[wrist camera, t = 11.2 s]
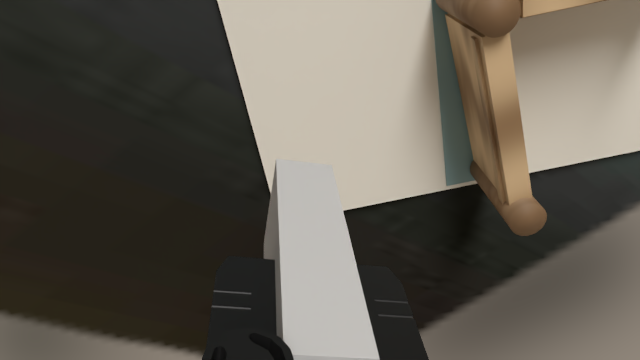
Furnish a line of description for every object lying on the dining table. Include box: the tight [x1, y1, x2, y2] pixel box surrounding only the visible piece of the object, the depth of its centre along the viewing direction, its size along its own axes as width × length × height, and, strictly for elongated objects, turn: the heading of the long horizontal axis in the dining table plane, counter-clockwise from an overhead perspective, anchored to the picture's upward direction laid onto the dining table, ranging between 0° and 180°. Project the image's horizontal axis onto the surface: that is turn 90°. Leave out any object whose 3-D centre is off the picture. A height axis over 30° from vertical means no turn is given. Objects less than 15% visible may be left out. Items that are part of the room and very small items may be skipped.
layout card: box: [217, 0, 640, 211], centre depth 33 cm, size 28×20×1 cm
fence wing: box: [435, 0, 547, 236], centre depth 30 cm, size 15×2×7 cm, turn 18°
